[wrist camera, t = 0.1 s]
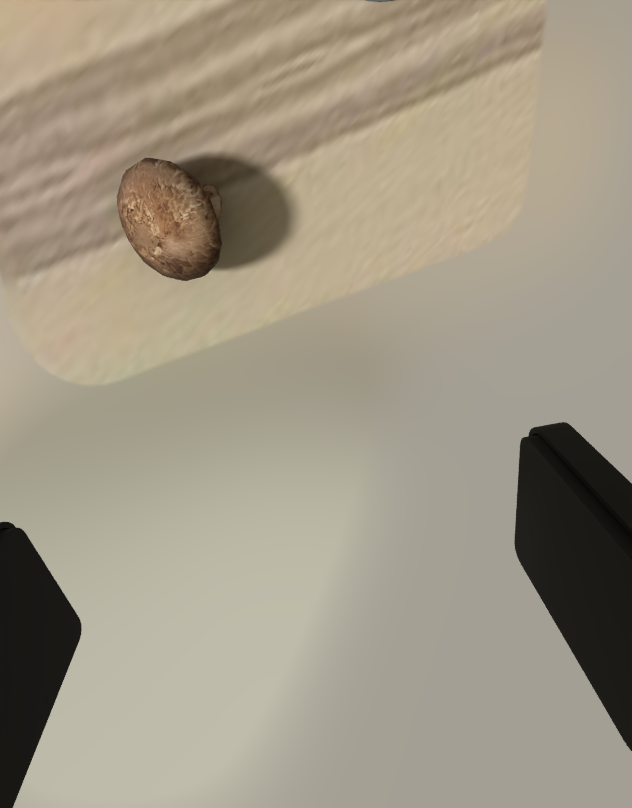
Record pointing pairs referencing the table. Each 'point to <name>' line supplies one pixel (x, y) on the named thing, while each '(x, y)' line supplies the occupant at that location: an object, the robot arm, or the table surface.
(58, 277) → the table surface
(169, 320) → the table surface
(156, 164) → the mushroom
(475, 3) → the table surface
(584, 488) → the robot arm
